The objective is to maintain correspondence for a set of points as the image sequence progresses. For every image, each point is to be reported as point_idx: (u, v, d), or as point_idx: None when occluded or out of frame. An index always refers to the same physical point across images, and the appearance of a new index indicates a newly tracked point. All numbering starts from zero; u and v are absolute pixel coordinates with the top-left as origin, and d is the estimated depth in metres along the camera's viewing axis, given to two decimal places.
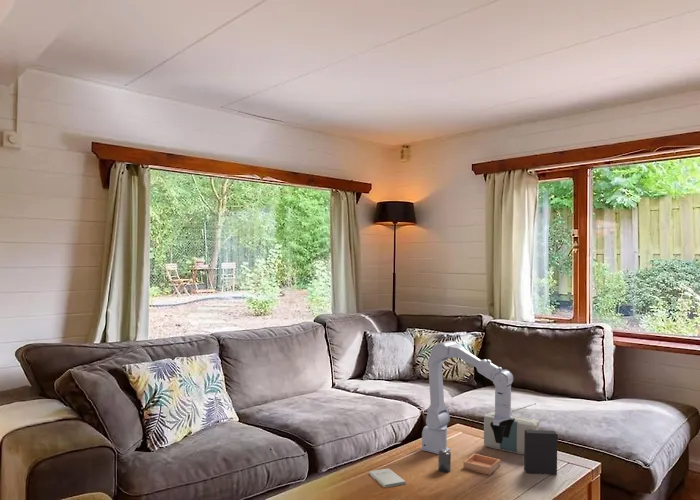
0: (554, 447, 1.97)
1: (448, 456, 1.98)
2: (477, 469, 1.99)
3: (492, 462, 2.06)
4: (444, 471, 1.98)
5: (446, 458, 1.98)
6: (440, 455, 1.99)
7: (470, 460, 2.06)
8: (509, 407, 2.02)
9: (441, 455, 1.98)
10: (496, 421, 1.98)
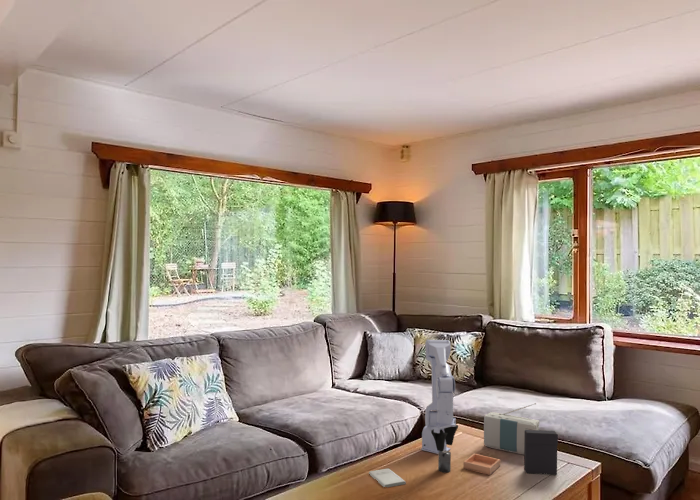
0: (554, 447, 1.97)
1: (448, 456, 1.98)
2: (477, 469, 1.99)
3: (492, 462, 2.06)
4: (444, 471, 1.98)
5: (446, 458, 1.98)
6: (440, 455, 1.99)
7: (470, 460, 2.06)
8: (451, 414, 1.98)
9: (441, 455, 1.98)
10: (436, 428, 1.94)
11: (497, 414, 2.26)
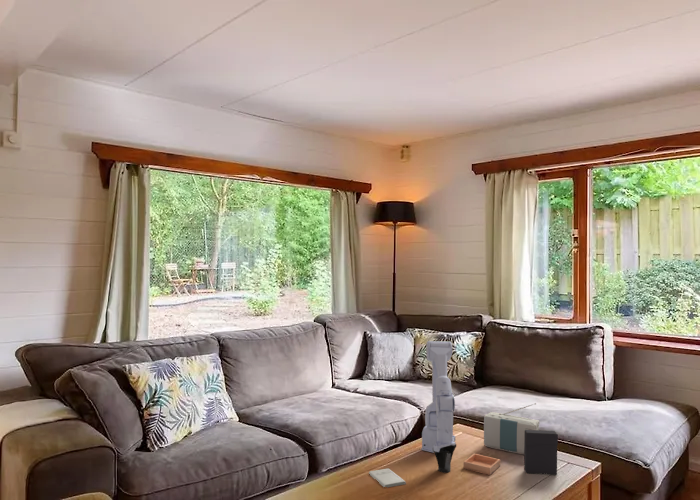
0: (554, 447, 1.97)
1: (448, 456, 1.98)
2: (477, 469, 1.99)
3: (492, 462, 2.06)
4: (444, 471, 1.98)
5: (446, 458, 1.98)
6: None
7: (470, 460, 2.06)
8: (451, 432, 1.98)
9: None
10: (436, 447, 1.94)
11: (497, 414, 2.26)
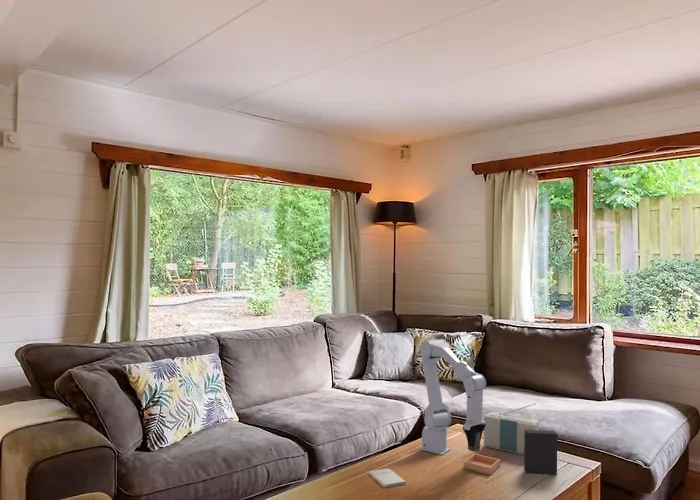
0: (554, 447, 1.97)
1: (478, 435, 2.01)
2: (477, 469, 1.99)
3: (492, 462, 2.06)
4: (474, 449, 2.00)
5: (476, 437, 2.00)
6: None
7: (470, 460, 2.06)
8: (481, 411, 2.00)
9: None
10: (467, 425, 1.96)
11: (497, 414, 2.26)
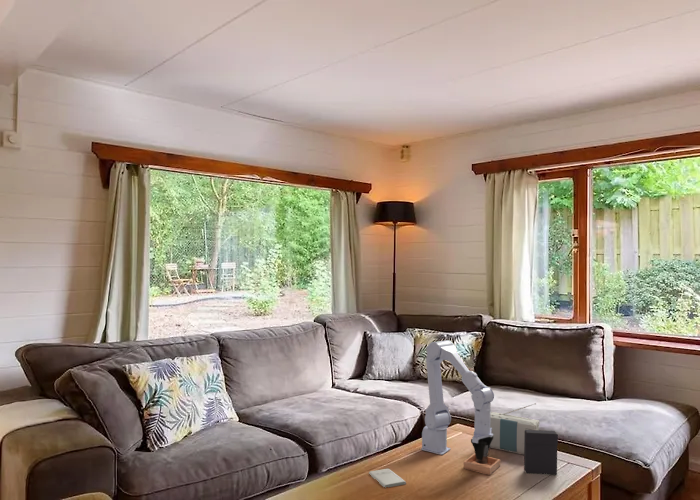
0: (554, 447, 1.97)
1: (486, 447, 2.02)
2: (477, 469, 1.99)
3: (492, 462, 2.06)
4: (482, 462, 2.01)
5: (484, 450, 2.01)
6: None
7: (470, 460, 2.06)
8: (488, 424, 2.01)
9: None
10: (475, 439, 1.97)
11: (497, 414, 2.26)
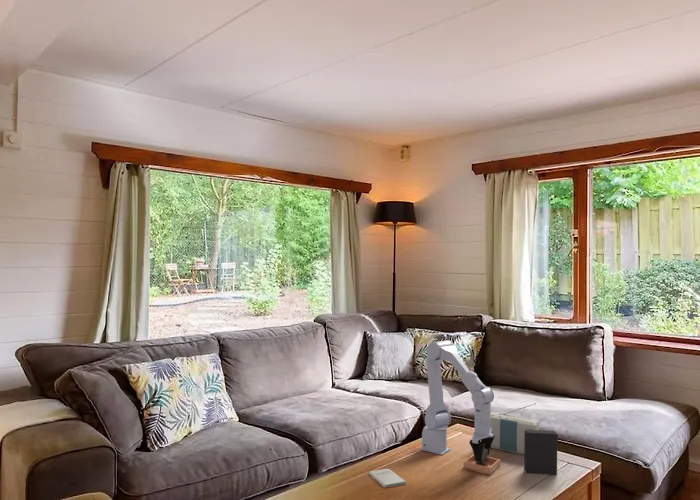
0: (554, 447, 1.97)
1: (486, 452, 2.01)
2: (477, 469, 1.99)
3: (492, 462, 2.06)
4: None
5: (484, 454, 2.01)
6: None
7: (470, 460, 2.06)
8: (488, 425, 2.01)
9: None
10: (475, 439, 1.97)
11: (497, 414, 2.26)
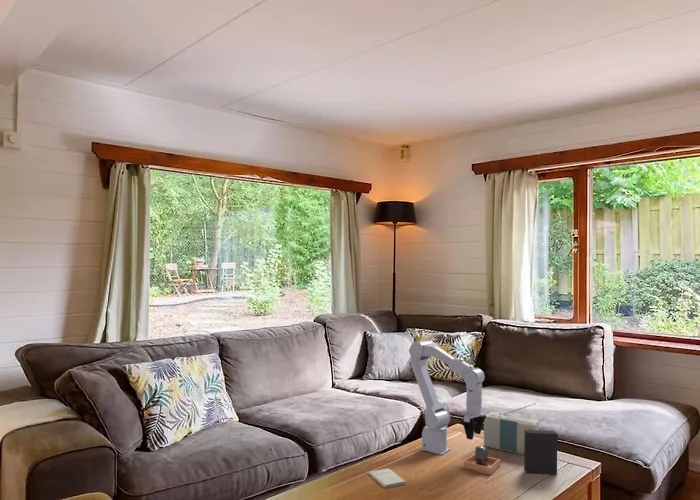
0: (554, 447, 1.97)
1: (486, 452, 2.01)
2: (477, 469, 1.99)
3: (492, 462, 2.06)
4: None
5: (484, 454, 2.01)
6: (478, 451, 2.02)
7: (470, 460, 2.06)
8: (480, 404, 2.07)
9: (479, 451, 2.01)
10: (466, 418, 2.03)
11: (497, 414, 2.26)
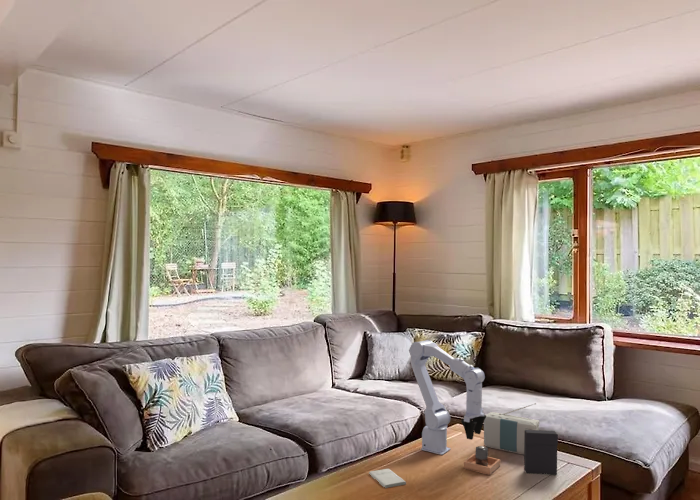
0: (554, 447, 1.97)
1: (486, 452, 2.01)
2: (477, 469, 1.99)
3: (492, 462, 2.06)
4: None
5: (484, 454, 2.01)
6: (478, 451, 2.02)
7: (470, 460, 2.06)
8: (480, 404, 2.07)
9: (479, 451, 2.01)
10: (466, 418, 2.03)
11: (497, 414, 2.26)
